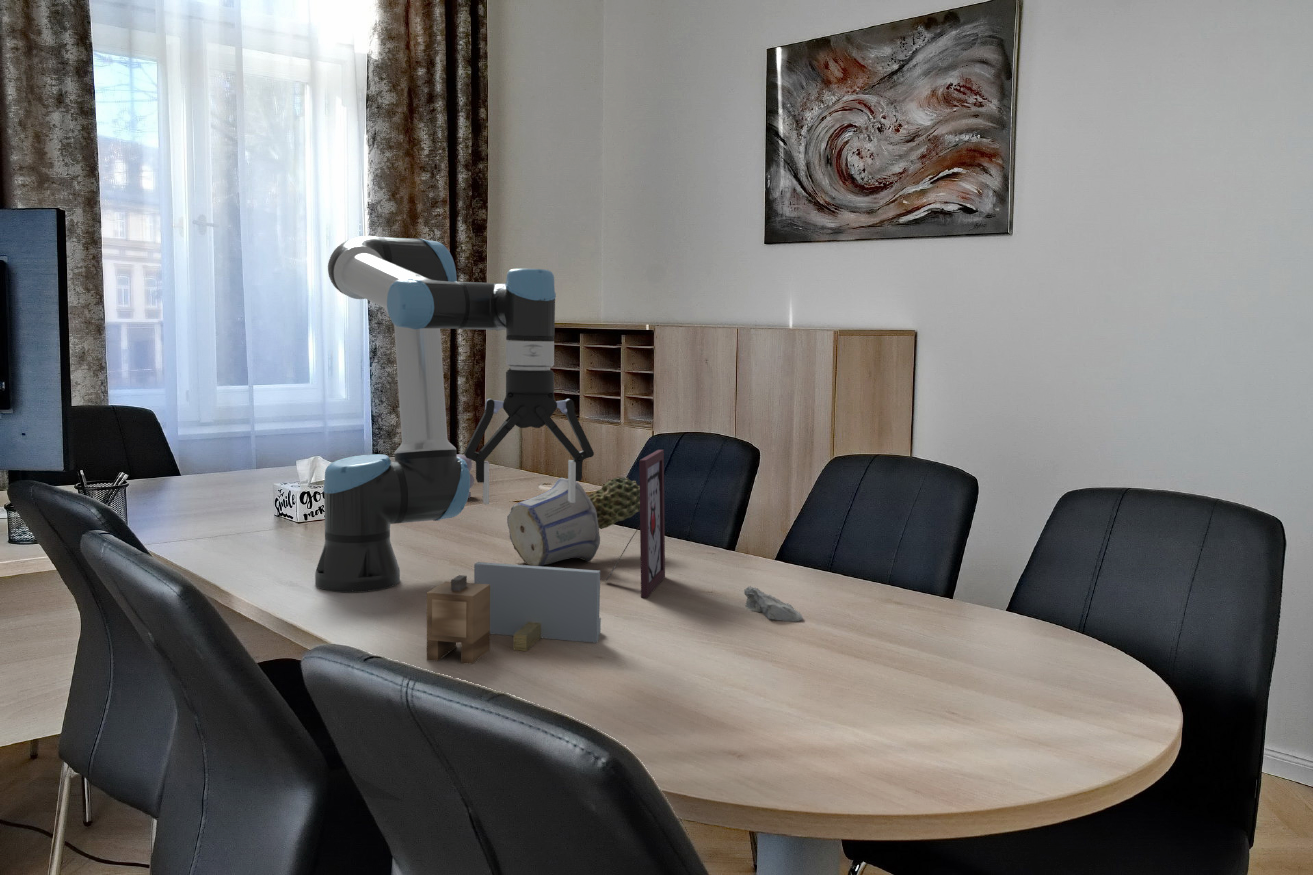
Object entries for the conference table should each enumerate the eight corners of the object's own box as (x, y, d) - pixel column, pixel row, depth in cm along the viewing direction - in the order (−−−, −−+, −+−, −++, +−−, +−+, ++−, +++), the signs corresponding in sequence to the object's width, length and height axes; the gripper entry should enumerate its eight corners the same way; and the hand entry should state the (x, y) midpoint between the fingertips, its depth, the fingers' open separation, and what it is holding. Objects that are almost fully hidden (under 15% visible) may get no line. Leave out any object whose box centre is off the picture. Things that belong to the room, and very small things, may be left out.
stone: (773, 605, 191) (773, 582, 191) (806, 621, 180) (807, 597, 180) (740, 608, 189) (741, 585, 189) (772, 625, 178) (772, 600, 177)
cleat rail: (513, 650, 160) (513, 634, 160) (528, 636, 167) (528, 622, 167) (526, 651, 160) (526, 635, 160) (540, 638, 167) (540, 623, 167)
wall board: (473, 632, 169) (474, 564, 168) (486, 622, 174) (486, 556, 173) (596, 642, 165) (597, 572, 164) (605, 632, 170) (606, 565, 169)
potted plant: (538, 503, 204) (657, 456, 222) (491, 494, 218) (606, 450, 236) (558, 588, 208) (673, 535, 226) (510, 574, 222) (622, 525, 240)
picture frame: (647, 598, 192) (650, 460, 190) (594, 594, 194) (597, 457, 192) (665, 577, 209) (668, 449, 206) (616, 573, 211) (618, 447, 208)
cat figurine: (438, 498, 292) (438, 455, 290) (448, 494, 299) (449, 451, 298) (468, 500, 290) (468, 456, 289) (478, 496, 298) (478, 453, 297)
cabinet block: (426, 660, 155) (426, 581, 154) (445, 646, 162) (445, 570, 161) (471, 664, 153) (472, 585, 152) (489, 649, 160) (490, 574, 159)
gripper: (450, 368, 161) (450, 507, 163) (612, 370, 167) (610, 504, 169) (448, 366, 168) (448, 500, 171) (603, 368, 174) (602, 497, 177)
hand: (529, 502), depth 170 cm, fingers open, 13 cm apart
